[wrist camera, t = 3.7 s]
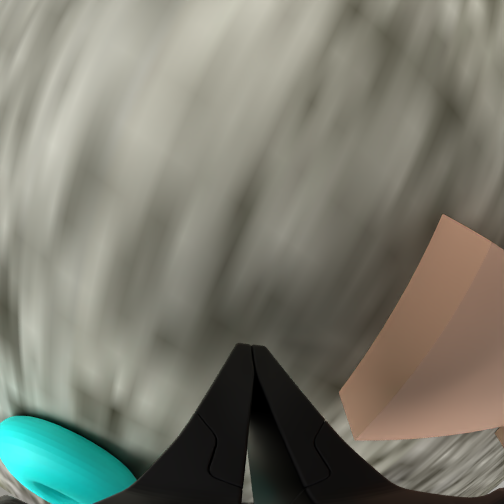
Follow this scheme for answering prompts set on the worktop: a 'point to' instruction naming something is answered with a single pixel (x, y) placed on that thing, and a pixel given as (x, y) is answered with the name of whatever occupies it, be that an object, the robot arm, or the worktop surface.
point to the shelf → (500, 435)
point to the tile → (437, 347)
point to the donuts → (60, 462)
